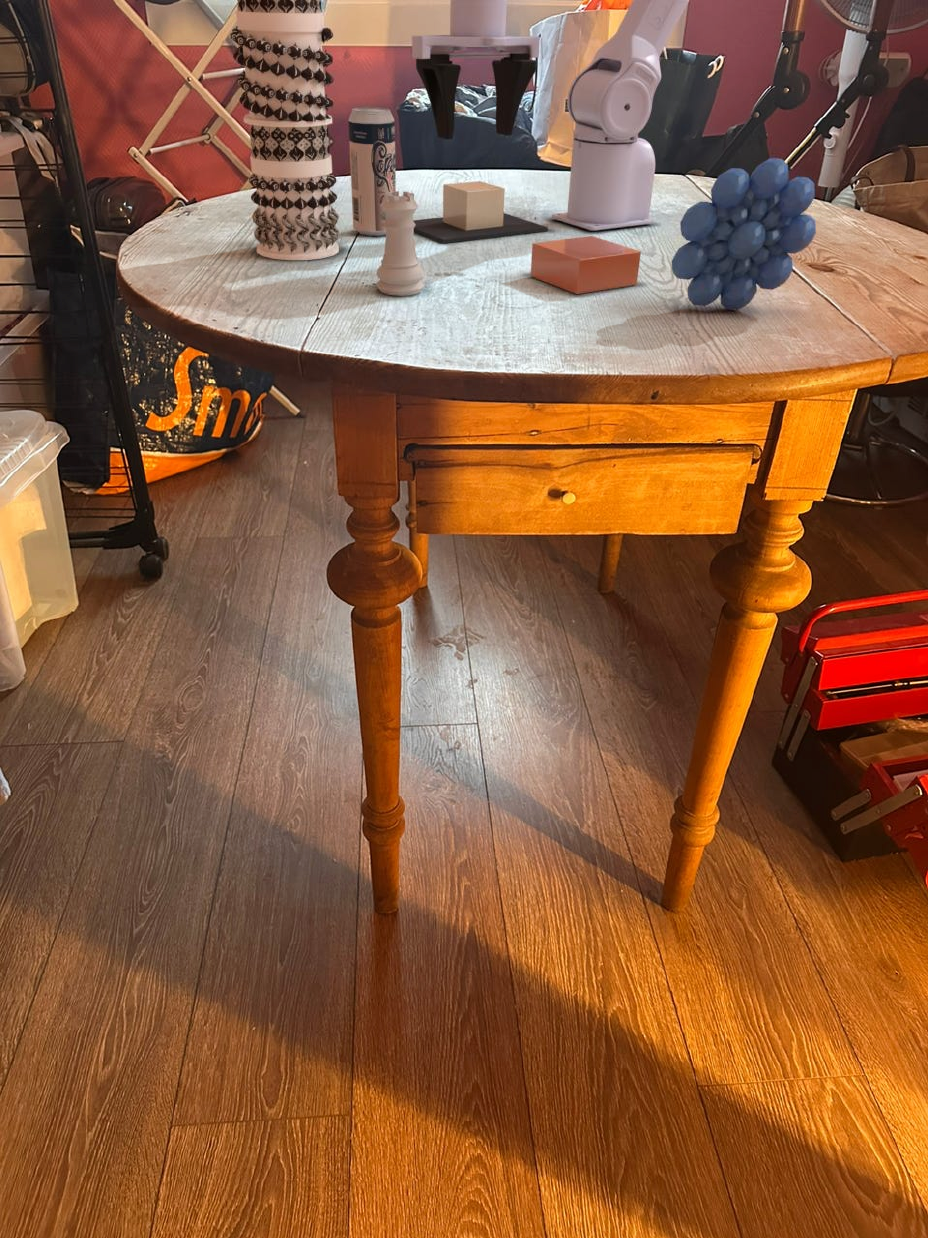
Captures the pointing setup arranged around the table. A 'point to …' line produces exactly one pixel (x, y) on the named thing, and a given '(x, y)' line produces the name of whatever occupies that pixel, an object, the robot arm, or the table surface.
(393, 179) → the beer can
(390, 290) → the rook chess piece
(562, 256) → the glossy orange square block
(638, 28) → the robot arm
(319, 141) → the decorative candle
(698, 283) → the blue beaded flower
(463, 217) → the beige cube
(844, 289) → the table surface
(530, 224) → the rubber mat
